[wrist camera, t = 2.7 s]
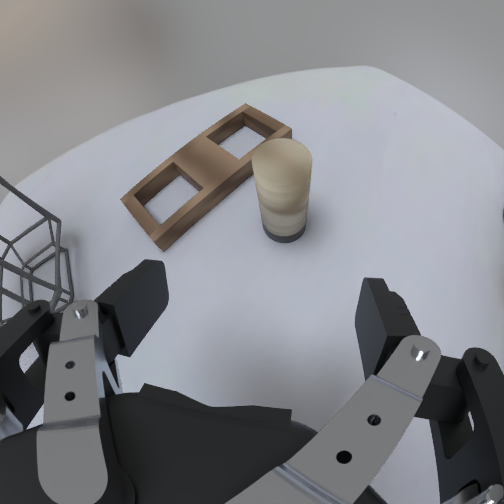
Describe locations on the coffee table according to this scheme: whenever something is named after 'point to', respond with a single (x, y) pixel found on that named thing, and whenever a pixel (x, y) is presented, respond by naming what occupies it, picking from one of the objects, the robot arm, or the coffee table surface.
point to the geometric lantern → (3, 264)
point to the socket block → (201, 173)
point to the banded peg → (283, 187)
